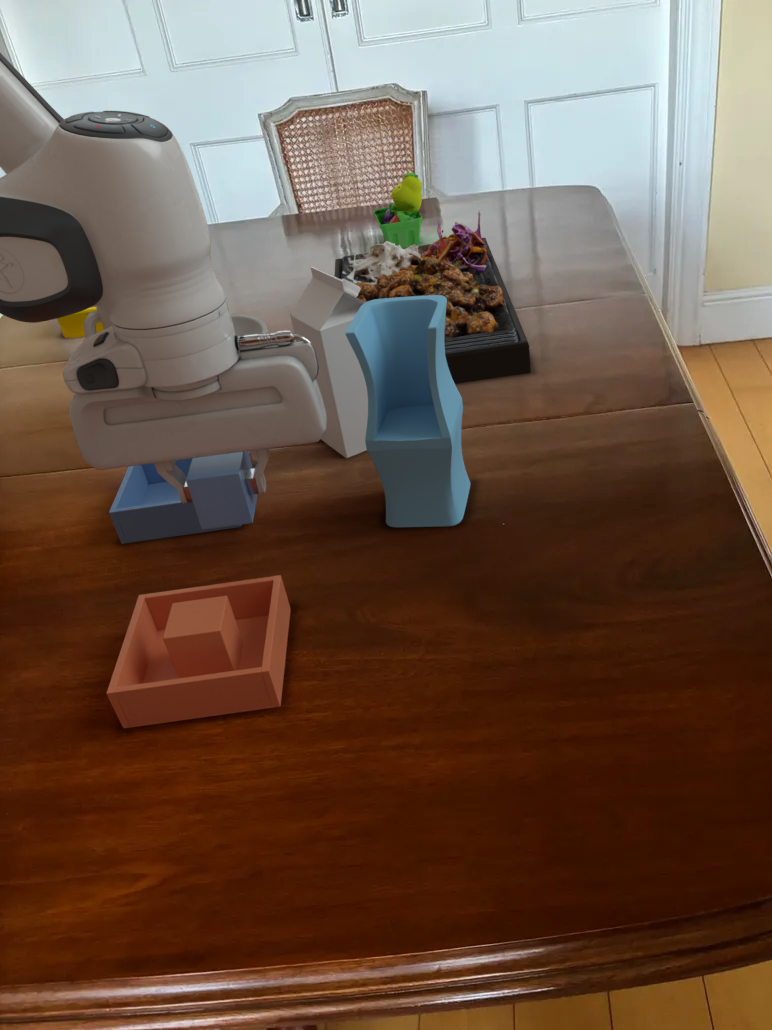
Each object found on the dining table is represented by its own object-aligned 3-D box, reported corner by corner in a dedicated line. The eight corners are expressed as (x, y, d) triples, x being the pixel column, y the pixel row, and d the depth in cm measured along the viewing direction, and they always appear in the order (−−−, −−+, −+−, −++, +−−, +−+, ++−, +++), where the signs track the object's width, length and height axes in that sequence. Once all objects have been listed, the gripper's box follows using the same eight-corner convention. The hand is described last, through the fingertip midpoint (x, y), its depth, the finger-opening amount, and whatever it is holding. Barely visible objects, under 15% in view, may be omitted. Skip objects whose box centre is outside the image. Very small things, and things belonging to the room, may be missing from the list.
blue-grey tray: (122, 547, 90) (108, 512, 88) (146, 486, 100) (133, 453, 97) (242, 530, 90) (231, 495, 88) (254, 471, 100) (244, 437, 97)
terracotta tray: (125, 732, 69) (105, 693, 66) (154, 632, 78) (138, 594, 76) (281, 711, 69) (268, 670, 66) (291, 613, 78) (280, 574, 76)
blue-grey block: (201, 529, 78) (185, 480, 75) (208, 503, 82) (193, 454, 78) (252, 523, 78) (238, 473, 75) (257, 496, 82) (244, 447, 78)
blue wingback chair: (382, 532, 87) (344, 333, 75) (397, 489, 93) (363, 299, 81) (462, 530, 85) (436, 327, 73) (472, 487, 92) (449, 293, 79)
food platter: (340, 286, 147) (327, 221, 140) (488, 265, 147) (482, 198, 140) (334, 404, 111) (317, 324, 105) (531, 376, 111) (525, 293, 105)
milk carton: (347, 462, 99) (310, 291, 87) (318, 440, 104) (280, 276, 92) (401, 439, 102) (373, 271, 90) (371, 419, 107) (340, 257, 95)
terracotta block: (181, 686, 71) (162, 638, 68) (190, 649, 75) (172, 602, 72) (237, 678, 71) (220, 630, 68) (243, 642, 75) (227, 595, 72)
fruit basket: (377, 238, 166) (366, 173, 160) (423, 230, 167) (415, 165, 160) (384, 255, 157) (373, 187, 150) (433, 247, 158) (425, 178, 151)
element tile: (60, 342, 141) (49, 312, 138) (88, 309, 153) (77, 281, 150) (153, 330, 141) (144, 300, 138) (174, 298, 152) (165, 269, 149)
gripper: (312, 313, 73) (342, 462, 81) (63, 345, 73) (118, 491, 81) (309, 342, 68) (341, 498, 76) (40, 376, 68) (102, 529, 76)
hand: (224, 495), depth 79 cm, fingers closed on blue-grey block, 4 cm apart
